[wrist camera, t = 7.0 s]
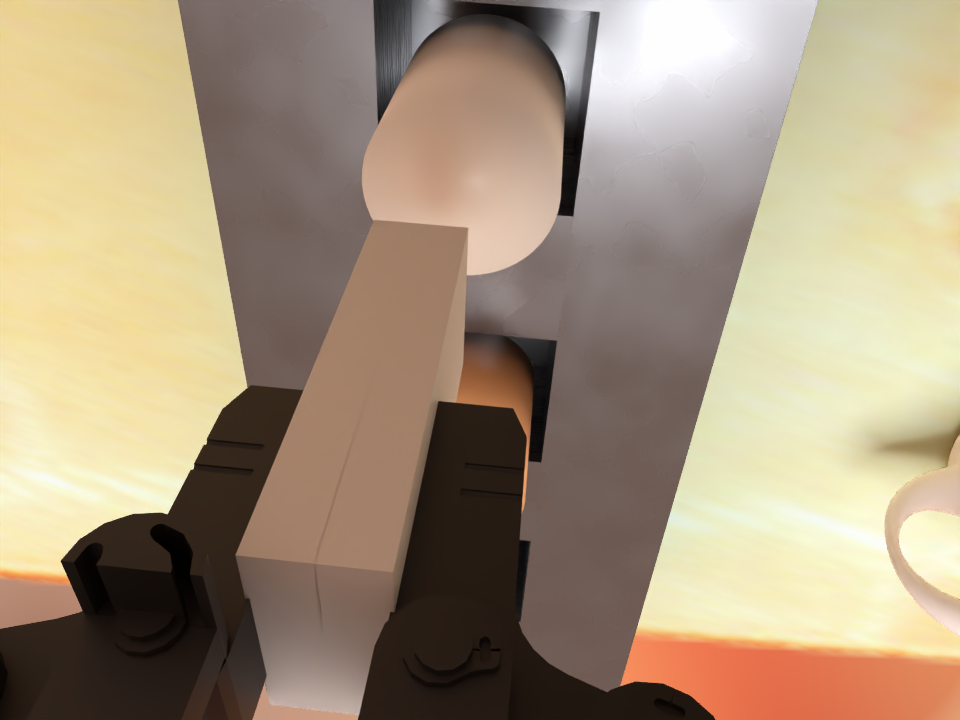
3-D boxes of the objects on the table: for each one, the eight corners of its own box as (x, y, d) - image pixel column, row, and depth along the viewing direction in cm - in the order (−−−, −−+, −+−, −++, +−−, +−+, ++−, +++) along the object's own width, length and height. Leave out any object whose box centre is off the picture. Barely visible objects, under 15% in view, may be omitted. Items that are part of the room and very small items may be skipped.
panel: (235, -278, 20) (128, -276, 15) (812, -245, 19) (885, -233, 14) (329, 546, 40) (296, 656, 35) (613, 578, 39) (617, 694, 34)
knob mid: (408, 319, 24) (375, 433, 21) (539, 332, 24) (531, 449, 20) (410, 416, 27) (380, 534, 23) (529, 428, 27) (519, 549, 23)
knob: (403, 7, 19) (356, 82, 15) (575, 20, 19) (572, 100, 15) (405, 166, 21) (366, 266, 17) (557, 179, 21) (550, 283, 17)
